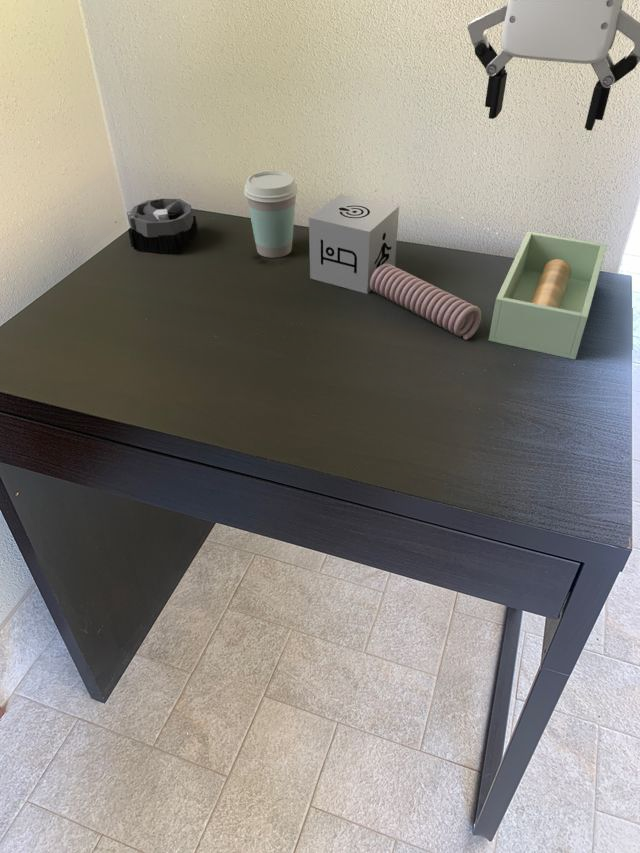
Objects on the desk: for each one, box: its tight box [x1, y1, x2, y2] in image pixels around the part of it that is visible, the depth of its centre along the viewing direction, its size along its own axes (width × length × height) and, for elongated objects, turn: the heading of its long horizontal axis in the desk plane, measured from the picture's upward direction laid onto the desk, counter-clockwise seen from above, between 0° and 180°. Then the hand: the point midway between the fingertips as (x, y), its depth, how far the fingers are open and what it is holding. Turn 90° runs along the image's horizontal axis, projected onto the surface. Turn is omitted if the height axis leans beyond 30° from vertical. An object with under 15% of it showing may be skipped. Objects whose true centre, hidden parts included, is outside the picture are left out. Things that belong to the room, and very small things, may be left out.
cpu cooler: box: [126, 198, 199, 254], centre depth 116 cm, size 10×6×10 cm
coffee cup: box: [243, 169, 299, 259], centre depth 111 cm, size 9×8×12 cm
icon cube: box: [308, 193, 400, 295], centre depth 105 cm, size 10×10×10 cm
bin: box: [488, 230, 608, 361], centre depth 97 cm, size 12×22×7 cm, turn 156°
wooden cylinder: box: [531, 259, 571, 309], centre depth 97 cm, size 16×4×4 cm
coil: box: [370, 264, 482, 340], centre depth 98 cm, size 5×5×18 cm
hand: (541, 120), depth 70 cm, fingers open, 9 cm apart
